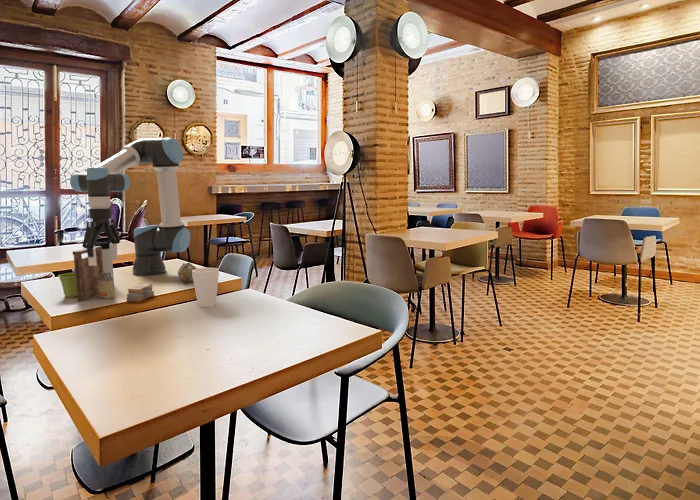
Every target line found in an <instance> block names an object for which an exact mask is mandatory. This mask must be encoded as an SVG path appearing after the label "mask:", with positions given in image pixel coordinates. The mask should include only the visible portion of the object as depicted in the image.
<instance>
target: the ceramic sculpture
mask: <svg viewBox="0 0 700 500" xmlns="http://www.w3.org/2000/svg"><path fill="white" fill-rule="evenodd" d="M194 269H198V268H197V267H196V266H195V265H193V264H192V263H190V262H187V263H184V262H183V263H182V265H181V266H180V267H179V268H178V271H177V275H178V277H179V279H180V280H181V282H182V283H187V282H188V283H190V282H194V281H193V278H192V270H194Z"/></svg>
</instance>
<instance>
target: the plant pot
mask: <svg viewBox="0 0 700 500" xmlns="http://www.w3.org/2000/svg"><path fill="white" fill-rule="evenodd" d="M57 276H58V278H59V280H60V283H61V287H62V290H63V294H64V297H65V298H75V297H77V286H76V275H75V272H68V273H62V274H58V275H57Z"/></svg>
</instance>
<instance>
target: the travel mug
mask: <svg viewBox="0 0 700 500" xmlns="http://www.w3.org/2000/svg"><path fill="white" fill-rule="evenodd" d="M109 244H112V243H111V242H110V241H109V239H104V240H97V241H96V243H95V246H102V261H103V272H105V274H106V273H111V277H113V282H114V283H115V277H114V266H113V260H110V245H109ZM95 246H94V247H95ZM108 277H109V274H108Z"/></svg>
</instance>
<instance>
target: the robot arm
mask: <svg viewBox="0 0 700 500" xmlns="http://www.w3.org/2000/svg"><path fill="white" fill-rule="evenodd" d="M183 158H184V151H183V147H182V145H181V143H180V142H179V141H178V140H177V139H176V138H174V137H150V138H149V137H145V138H140V139H138V140H135V141H133V142H130V143H128V144H127V145H125V146H123V147H122V148H120V151H119V152H118V153H116V154H114V155H113V156H110V157H109V158H107V159H105V160H104V161H102V162H100V163H99V164H97V165H94V166H89V167H87V168H86V170H85V172H77V173H73V174H72V175H71V176H70V179H69V183H70V187H71V188H72V190H73V191H75V192H82V193H87V196H88V197H87V199H88V207H89V209H88V214H89V216H88V217H89V218H90V219H92V221H87V222H86V229H85V233H84V237H83V242H82V248H83V249H86V248H87V253H86V254H87V257H88V262H89V266H96V265H97V262H96V249H95V248H94V247H95V243H96V242H98V238H99V236H100V234H101V233H104V235H105V237H107V240H109V241H110V242H111V244H109V245H110V260H112V261H117V260H118V259H119V258H118V257H119V256H118V244H120V243H121V238H120V235H119V231H118V229H117V226H116V223H115V219H111V218H112V209H111V208H110V207H111V206H112V203H111V194H110V192H111V193H113V192H114V193H117V192H118V193H122V192H126V191H128V190H129V188H130V187H131V179H130V177H129V176H128V175H127V174H126V173H123V172H124V171H126V170H128V169H129V168H130V167H136V166H138V165H141V164H152V168H153V169H154V170H155V171H156V178H157V189H158V198H159V208H160V219H161V222H160V223H159V224H152V225H145V226H139V227H135V228H134V230H133V240H134V241H133V242H134V253H135V258H134V262H133V266H132V274H133V275H136V276H152V275H159V274H164V273H165V272H166V271H167V270H166V265H165V263H164V260H163V258H162V252H163V253H164V252H165V253H182V252H184V251H186V250H187V249H188V247H189V245H190V241H191V233H190V231H189V229H188V228H186V227H185V223H184V222H183V221H182V220H181V211H180V199H179V190H178V189H179V188H178V180H177V169H178V168H180V164H181V162H182V161H183Z"/></svg>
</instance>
